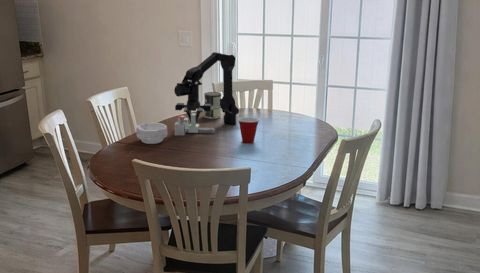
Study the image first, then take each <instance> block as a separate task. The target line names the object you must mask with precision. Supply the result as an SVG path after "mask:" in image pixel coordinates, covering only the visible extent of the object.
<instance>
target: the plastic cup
mask: <svg viewBox="0 0 480 273" xmlns="http://www.w3.org/2000/svg"><path fill="white" fill-rule="evenodd" d="M237 121H238V124H239V128H240V135H241V141H242V143H244V144H253V143H254V141H255V139H256V138H255V137H256V133H257V128H258V125H259V122H260V118H256V117H239V118H237Z"/></svg>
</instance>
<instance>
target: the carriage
mask: <svg viewBox="0 0 480 273" xmlns="http://www.w3.org/2000/svg"><path fill="white" fill-rule="evenodd" d="M198 128H200V123H198V122H197V123H196V113H192V112H191V122H190V123H189V126H188V131H189V133H188V134H190V133H191V134H199V133H198Z"/></svg>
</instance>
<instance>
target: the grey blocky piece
mask: <svg viewBox="0 0 480 273" xmlns="http://www.w3.org/2000/svg"><path fill="white" fill-rule="evenodd" d="M189 122H190V119H189V117H185V118H184V122H179V118H178V119H177V121H176V122H174V136H185V135H186V134H187V128H188V126H189V125H190V123H189Z"/></svg>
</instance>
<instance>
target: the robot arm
mask: <svg viewBox="0 0 480 273" xmlns="http://www.w3.org/2000/svg"><path fill="white" fill-rule="evenodd" d="M218 61H219V62H220V64H219V65H220V67H221V69H222V70H223V71H222V73H223V96H222V97H221V99H220V106H221V112H222V113H224V115H223V123H224V125H226V126H227V125H228V126H229V125H230V126H236V124H237V121H238V120H237V115H238V114H239V113H240V109H239V108H238V107H237V104H236V100H235V97H234V95H233V70H234V68H235V66H236V56H235V55H234V54H231V53H221V52H219V51H217V52H216V51H213V52H212V53H211V54H210V55H209V56H207V57H206V59H204V60H203V61H202V62H200V63H199V64H198V65H197V66H194V67H191V68H190V69H189V68H188V69H187V71H186V72H185V75H184V77H183V79H182V81H181V82H177V83H176V85H175V87H174V89H173V91H174V94H175V96H176V97H183V96H187V101H186V104H185V103H184V102H177V103H176V104H175V106H174V108H175V109H174V111H182V110H183V109H184V110H183V112H184V113H186V114H187V118H189V122H190V123H191V114H192V111H193V112H195V114H196V123H197V124H198V121H199V116H200V114H201V113H202V112H203V111H204V112H205V111H211V109H212V105H211V104H205V103H203V105H201V101H200V96H199V95H200V93H199V92H200V88H199V87H200V86H201V85H203V83H202V82H201V81H200V80H201V79H202V78H203V77H204V74H205V73H206V72H207V71H208V70H209V69H210V68H212V67H213V66H214V65H215V64H216V63H217V62H218Z"/></svg>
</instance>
